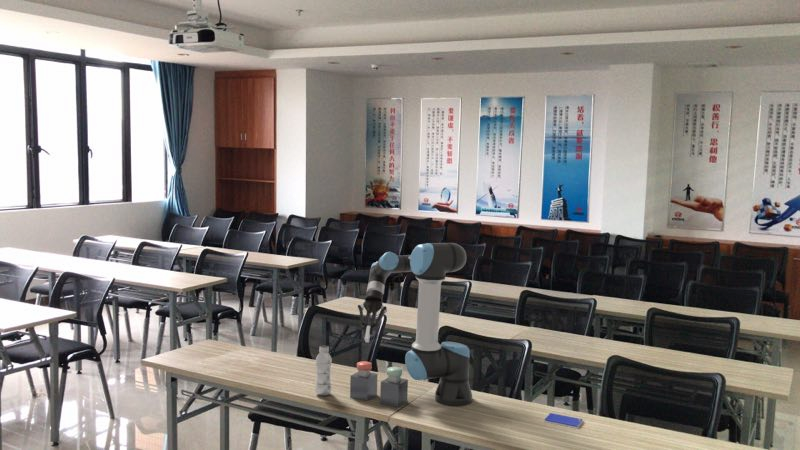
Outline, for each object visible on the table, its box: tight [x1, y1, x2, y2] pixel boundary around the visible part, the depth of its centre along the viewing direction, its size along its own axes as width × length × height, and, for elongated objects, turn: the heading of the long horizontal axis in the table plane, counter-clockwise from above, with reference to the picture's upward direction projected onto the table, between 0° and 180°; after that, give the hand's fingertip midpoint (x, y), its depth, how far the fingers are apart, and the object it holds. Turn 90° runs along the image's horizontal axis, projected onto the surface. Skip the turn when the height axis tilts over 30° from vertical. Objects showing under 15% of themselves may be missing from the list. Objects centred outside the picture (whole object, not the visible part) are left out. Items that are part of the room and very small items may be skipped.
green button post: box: [379, 377, 409, 408], centre depth 274 cm, size 8×8×9 cm
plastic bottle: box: [315, 345, 333, 396], centre depth 280 cm, size 6×7×20 cm
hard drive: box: [544, 412, 584, 429], centre depth 259 cm, size 2×8×12 cm
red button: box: [356, 360, 373, 377], centre depth 280 cm, size 6×6×10 cm
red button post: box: [349, 371, 378, 402], centre depth 280 cm, size 8×8×9 cm
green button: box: [386, 366, 403, 383], centre depth 273 cm, size 6×6×10 cm
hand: (366, 340), depth 287 cm, fingers closed
